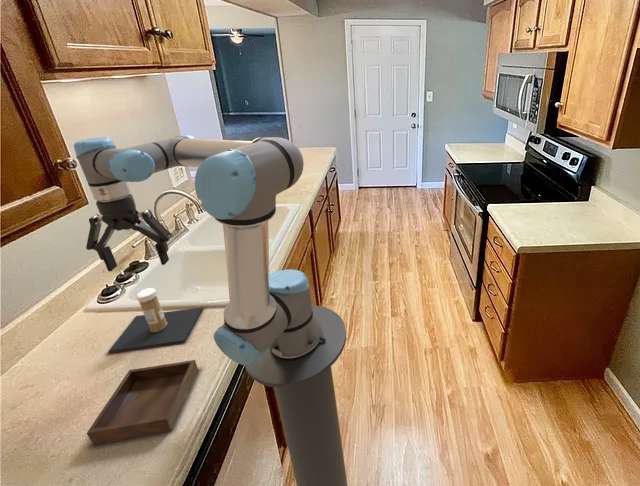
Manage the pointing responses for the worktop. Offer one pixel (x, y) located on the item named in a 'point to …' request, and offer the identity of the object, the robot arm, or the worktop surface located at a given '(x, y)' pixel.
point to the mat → (142, 337)
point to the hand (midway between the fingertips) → (139, 265)
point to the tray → (145, 402)
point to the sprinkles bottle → (152, 309)
